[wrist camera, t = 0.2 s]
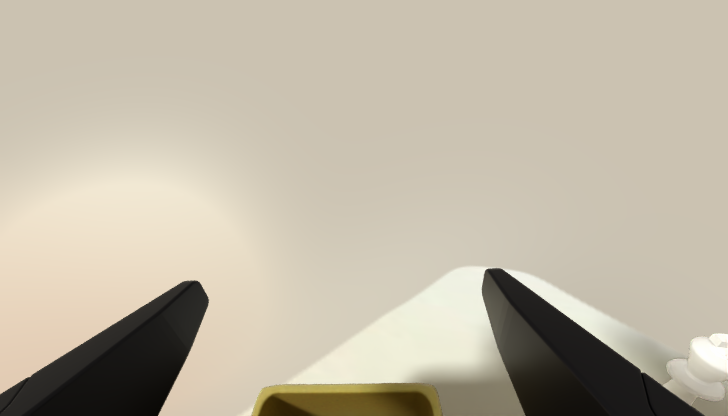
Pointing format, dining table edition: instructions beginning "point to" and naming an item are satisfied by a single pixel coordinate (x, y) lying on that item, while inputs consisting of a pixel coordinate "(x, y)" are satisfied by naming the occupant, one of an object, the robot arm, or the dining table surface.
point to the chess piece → (700, 370)
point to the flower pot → (348, 400)
